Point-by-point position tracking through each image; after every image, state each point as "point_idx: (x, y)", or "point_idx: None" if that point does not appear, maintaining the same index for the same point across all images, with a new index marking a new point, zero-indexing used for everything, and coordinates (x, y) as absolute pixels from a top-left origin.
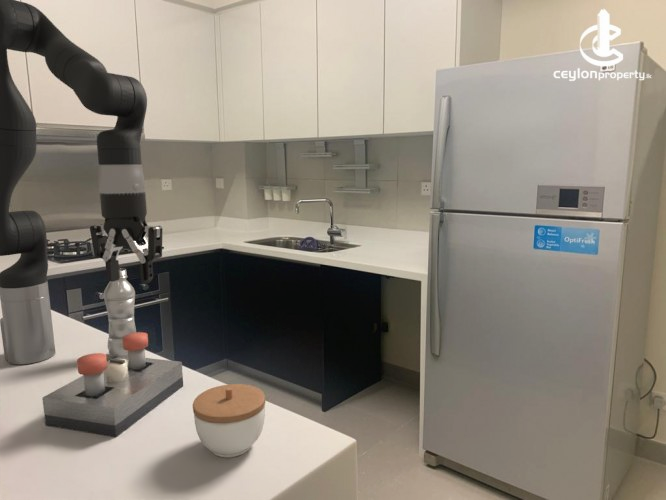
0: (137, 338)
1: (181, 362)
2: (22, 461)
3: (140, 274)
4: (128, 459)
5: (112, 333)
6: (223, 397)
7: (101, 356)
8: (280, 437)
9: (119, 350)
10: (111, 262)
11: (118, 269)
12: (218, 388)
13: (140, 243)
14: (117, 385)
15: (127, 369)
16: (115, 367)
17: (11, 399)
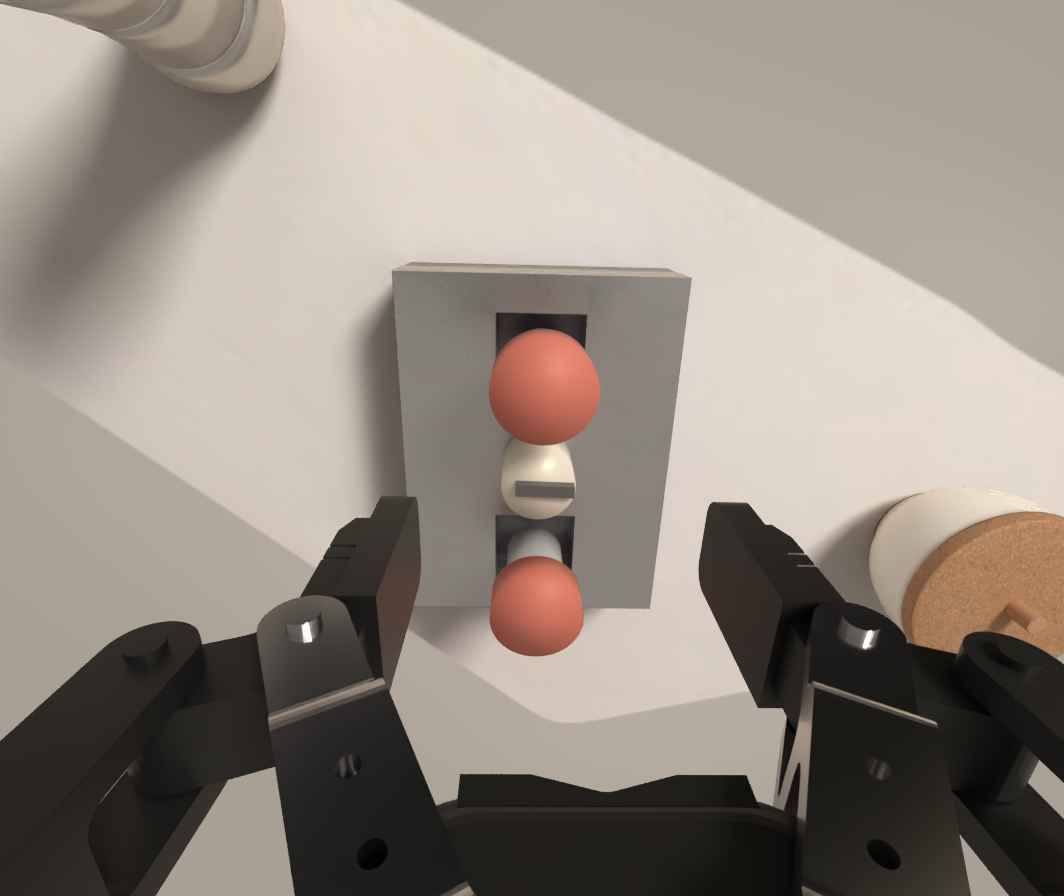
0: (574, 417)
1: (690, 279)
2: (501, 663)
3: (721, 628)
4: (710, 616)
5: (153, 57)
6: (997, 609)
7: (559, 601)
8: (1034, 477)
9: (242, 87)
10: (386, 684)
11: (398, 543)
12: (970, 567)
13: (803, 798)
14: (572, 503)
15: (569, 458)
16: (559, 512)
17: (197, 474)
